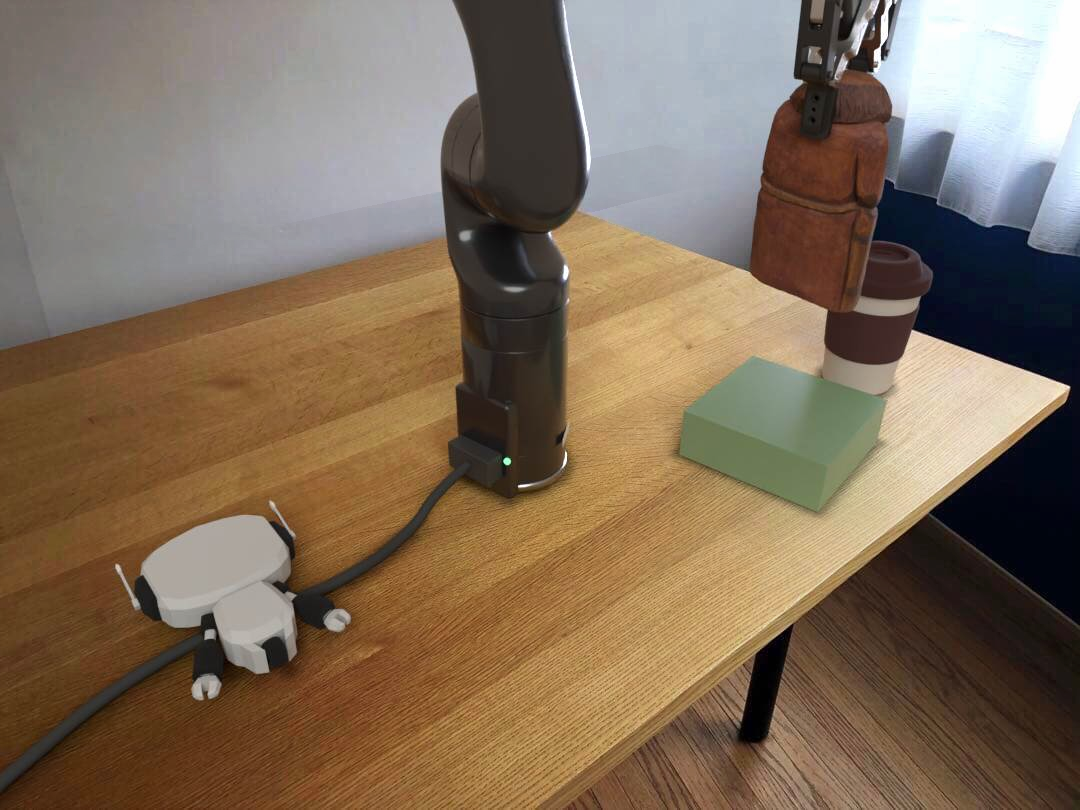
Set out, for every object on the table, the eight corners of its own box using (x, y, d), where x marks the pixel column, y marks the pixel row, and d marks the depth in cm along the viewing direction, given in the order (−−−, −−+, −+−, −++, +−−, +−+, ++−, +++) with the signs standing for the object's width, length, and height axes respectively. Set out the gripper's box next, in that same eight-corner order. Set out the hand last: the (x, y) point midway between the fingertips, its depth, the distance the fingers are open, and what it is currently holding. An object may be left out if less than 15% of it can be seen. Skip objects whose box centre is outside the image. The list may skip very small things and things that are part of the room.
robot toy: (365, 646, 63) (274, 530, 72) (361, 603, 60) (267, 489, 69) (198, 736, 56) (122, 596, 65) (186, 693, 53) (108, 553, 63)
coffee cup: (870, 414, 89) (902, 279, 81) (790, 377, 95) (813, 249, 87) (921, 384, 94) (956, 254, 86) (842, 351, 100) (868, 227, 93)
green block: (817, 512, 75) (828, 466, 72) (678, 454, 82) (683, 410, 80) (876, 443, 84) (887, 399, 81) (746, 396, 92) (753, 355, 89)
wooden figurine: (885, 301, 73) (939, 77, 63) (840, 321, 69) (890, 87, 60) (774, 259, 81) (808, 55, 71) (728, 275, 77) (757, 62, 68)
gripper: (862, -120, 66) (823, 106, 75) (779, -121, 56) (746, 139, 65) (964, -119, 62) (910, 120, 71) (894, -120, 52) (842, 157, 61)
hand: (832, 128), depth 68 cm, fingers closed on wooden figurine, 6 cm apart
